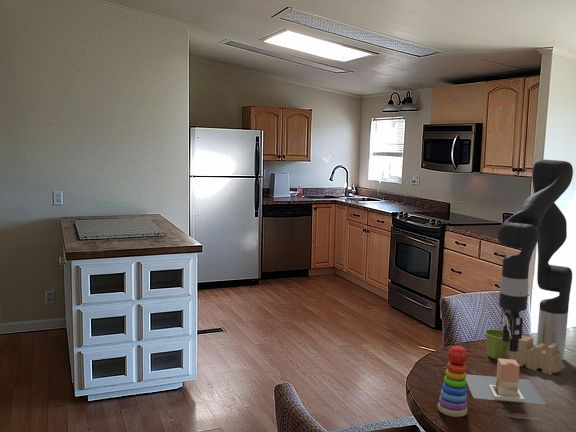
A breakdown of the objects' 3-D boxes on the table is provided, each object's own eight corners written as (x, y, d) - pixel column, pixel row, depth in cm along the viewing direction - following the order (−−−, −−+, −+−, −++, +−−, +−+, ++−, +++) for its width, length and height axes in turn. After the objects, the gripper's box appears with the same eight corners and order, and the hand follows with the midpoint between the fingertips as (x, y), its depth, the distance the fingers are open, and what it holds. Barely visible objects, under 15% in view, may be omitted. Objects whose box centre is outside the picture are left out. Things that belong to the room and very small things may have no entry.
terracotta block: (496, 374, 166) (497, 358, 165) (514, 376, 165) (515, 359, 165) (500, 381, 161) (501, 364, 161) (518, 382, 160) (519, 366, 160)
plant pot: (513, 355, 200) (515, 332, 199) (507, 363, 192) (509, 339, 191) (486, 350, 204) (487, 327, 204) (480, 357, 197) (481, 334, 196)
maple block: (495, 390, 167) (496, 374, 166) (512, 392, 166) (513, 375, 165) (499, 397, 162) (500, 381, 161) (517, 399, 161) (518, 382, 160)
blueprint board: (463, 377, 179) (463, 371, 178) (528, 382, 176) (529, 376, 175) (473, 401, 161) (473, 394, 161) (546, 408, 158) (546, 401, 158)
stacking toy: (451, 420, 149) (456, 353, 147) (431, 408, 156) (435, 343, 154) (473, 415, 152) (478, 349, 150) (452, 403, 159) (456, 339, 157)
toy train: (557, 380, 179) (560, 350, 178) (505, 364, 191) (508, 336, 190) (563, 375, 183) (566, 346, 182) (512, 360, 195) (515, 333, 194)
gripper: (534, 299, 153) (529, 356, 155) (520, 286, 167) (516, 338, 169) (505, 297, 154) (501, 353, 156) (494, 285, 168) (491, 337, 170)
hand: (509, 346), depth 162 cm, fingers open, 8 cm apart
